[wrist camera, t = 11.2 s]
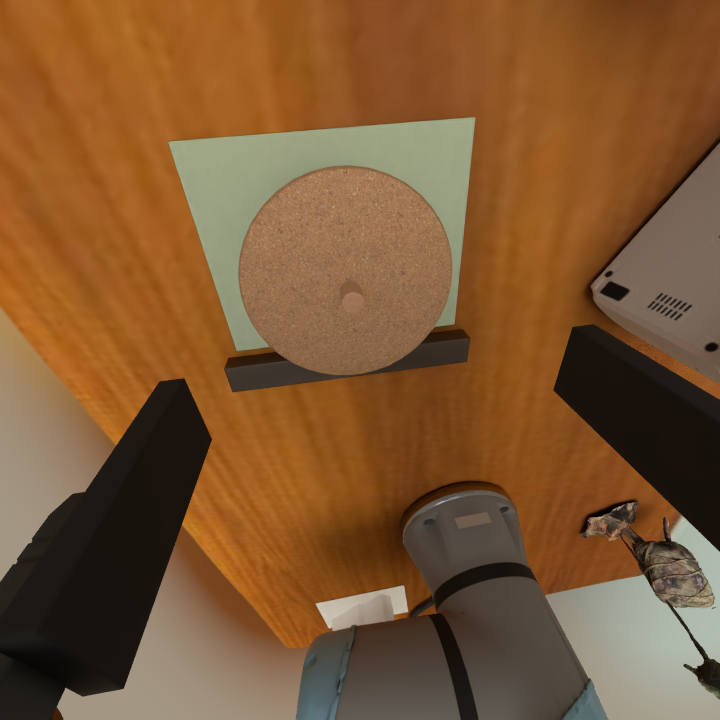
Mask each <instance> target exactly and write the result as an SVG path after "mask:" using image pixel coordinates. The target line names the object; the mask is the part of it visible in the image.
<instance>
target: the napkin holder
mask: <svg viewBox="0 0 720 720" xmlns="http://www.w3.org/2000/svg"><path fill="white" fill-rule="evenodd" d="M316 606H317V608H318V609H319V611H320V613H321V615H322V617H323V619H324V620H325V622H326V624H327V626H328V628H332V631H336V630H341V629H345V628H350V627H351V625H355V624H356V626H360V625H366V624H372V623H379V622H385V621H392V620H395V618H394V615H395V614H400V613H404V612H408V608H407V601H406V595H405V589H404V585H403V586H398V587H393V588H388V589H383V590H379V591H374V592H369V593H364V594H359V595H355V596H350V597H345V598H340V599H335V600H331V601H326V602H321V603H316Z"/></svg>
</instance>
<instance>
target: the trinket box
mask: <svg viewBox="0 0 720 720" xmlns="http://www.w3.org/2000/svg"><path fill="white" fill-rule="evenodd" d="M238 277H239V288H240V293H241V297H242V301H243V305H244V308H245V310H246V312H247V314H248V317H249V319H250V321H251V323H252V324H253V326H254V327H255V329H256V330H257V332H258V334H259V335H260V336H261V337H262V338H263V339H264V340H265V342H266V343H267V344H268V345H269V346H270V347H271V348H272V349H274V350H275V351H276V352H277V353H278V354H280V355H281V356H283V357H284V358H286V359H287V360H289V361H291V362H292V363H294V364H296V365H299V366H301V367H303V368H306V369H308V370H312V371H316V372H319V373H325V374H331V375H354V374H363V373H367V372H371V371H375V370H378V369H381V368H383V367H386V366H389V365H391V364H392V363H394V362H396V361H398V360H400V359H401V358H403V357H404V356H406V355H407V354H409V353H410V352H411V351H413V350H414V349H415V348H416V347H417V346H418V345H419V344H420V343H421V342H422V341H423V340H424V339H425V338H426V337H427V336H428V334H429V333H430V332H431V331H432V329H433V328H434V326H435V325H436V323H437V321H438V320H439V318H440V317H441V314H442V312H443V310H444V307H445V305H446V303H447V299H448V296H449V292H450V288H451V280H452V254H451V250H450V245H449V240H448V237H447V235H446V232H445V230H444V227H443V225H442V222H441V221H440V219H439V217H438V216H437V214H436V213H435V211H434V209H433V208H432V207H431V206H430V204H429V203H428V202H427V201H426V200H425V199H424V198H423V197H422V195H421V194H419V193H418V192H417V191H416V190H414V189H413V188H412V187H411V186H409V185H408V184H407V183H405V182H403V181H401V180H400V179H398V178H396V177H394V176H392V175H390V174H388V173H385V172H382V171H378V170H375V169H372V168H368V167H360V166H352V165H345V166H330V167H326V168H322V169H318V170H314V171H310V172H308V173H306V174H304V175H302V176H299V177H297V178H295V179H293V180H292V181H290V182H289V183H287V184H286V185H285V186H283V187H282V188H280V189H279V190H277V191H276V192H275V193H274V194H273V195H272V196H271V197H270V198H269V199H268V200H267V201H266V202H265V204H264V205H263V206H262V207H261V209H260V210H259V212H258V213H257V215H256V216H255V218H254V219H253V220H252V222H251V224H250V226H249V229H248V231H247V233H246V235H245V238H244V241H243V245H242V249H241V252H240V257H239V270H238Z"/></svg>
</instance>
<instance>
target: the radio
mask: <svg viewBox="0 0 720 720" xmlns="http://www.w3.org/2000/svg"><path fill="white" fill-rule="evenodd" d="M591 289H592V291H593V300H594V301H595V303H596V304H597V306H598V307H599V308H600V309H601V310H602V311H603V312H604V313H605V314H606V315H607V316H608V317H609V318H610V319H612V320H613V321H614V322H615V323H617V324H618V325H619V326H621V327H622V328H624V329H625V330H627V331H628V332H630V333H632V334H633V335H635V336H637V337H638V338H640V339H642V340H644V341H645V342H647V343H649V344H651V345H652V346H654V347H656V348H657V349H659V350H661V351H663V352H664V353H666V354H668V355H669V356H671V357H673V358H675V359H676V360H678V361H680V362H682V363H683V364H685V365H687V366H688V367H690V368H692V369H694V370H695V371H697V372H699V373H701V374H702V375H704V376H706V377H707V378H709V379H711V380H713V381H714V382H716V383H718V384H720V143H719V144H718V145H717V146H716V147H715V148H714V149H713V151H712V152H711V153H710V154H709V155H708V156H707V157H706V158H705V159H704V161H703V162H702V163H701V164H700V165H699V166H698V167H697V168H696V169H695V171H694V172H693V173H692V174H691V175H690V176H689V177H688V178H687V179H686V180H685V182H684V183H683V184H682V185H681V186H680V187H679V188H678V189H677V190H676V192H675V193H674V194H673V195H672V196H671V197H670V198H669V199H668V200H667V202H666V203H665V204H664V205H663V206H662V207H661V208H660V209H659V210H658V212H657V213H656V214H655V215H654V216H653V217H652V218H651V219H650V220H649V221H648V223H647V224H646V225H645V226H644V227H643V228H642V229H641V230H640V231H639V233H638V234H637V235H636V236H635V237H634V238H633V239H632V240H631V241H630V243H629V244H628V245H627V246H626V247H625V248H624V249H623V250H622V251H621V253H620V254H619V255H618V256H617V257H616V258H615V259H614V260H613V261H612V262H611V264H610V265H609V266H608V267H607V268H606V269H605V270H604V271H603V272H602V274H601V275H600V276H599V277H598V278H597V279H596V280H595V281H594V282H593V284H592V285H591Z"/></svg>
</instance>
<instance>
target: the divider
mask: <svg viewBox="0 0 720 720" xmlns="http://www.w3.org/2000/svg"><path fill="white" fill-rule="evenodd" d="M469 342H470V337H469V336H468V335H467V334H466V333H465V332H464V330H454V331H446V332H438V333H430V334H428V336H427V337H426V338H425V339H424V340H423V341H422V342H421V343H420V344H419V345H418V346H417V347H416V348H415V349H414V350H413V351H411V352H410V353H409V354H407V355H406V356H404V357H403V358H401V359H400V360H398V361H396V362H394V363H392V364H391V365H389V366H386V367H383V368H381V369H378V370H375V371H371V372H367V373H363V374H354V375H331V374H325V373H319V372H316V371H312V370H308V369H306V368H303V367H301V366H299V365H296V364H294V363H292V362H291V361H289V360H287V359H286V358H284V357H283V356H281V355H280V354H278V353H277V352H276V353H268V354H260V355H252V356H244V357H236V358H229V359H228V361H227V363H226V366H225V368H224V370H225V372H226V375H227V378H228V381H229V383H230V386H231V389H232V392H239V391H246V390H254V389H262V388H269V387H277V386H285V385H292V384H300V383H308V382H315V381H323V380H331V379H338V378H346V377H354V376H361V375H369V374H377V373H384V372H392V371H400V370H407V369H415V368H423V367H430V366H438V365H445V364H453V363H461V362H467V357H468V349H469Z"/></svg>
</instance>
